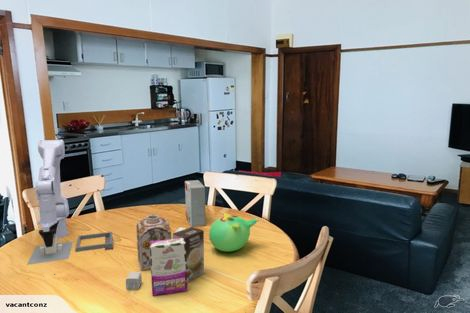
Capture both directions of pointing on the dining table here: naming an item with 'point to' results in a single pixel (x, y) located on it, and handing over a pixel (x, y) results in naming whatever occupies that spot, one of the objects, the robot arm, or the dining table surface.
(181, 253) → the candy bar box
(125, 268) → the dining table surface
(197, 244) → the coffee box
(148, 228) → the decorative jar
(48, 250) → the block
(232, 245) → the toy bird
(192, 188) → the hard drive box
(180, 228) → the seamed sphere
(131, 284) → the usb wall charger
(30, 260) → the panel
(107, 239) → the parts tray
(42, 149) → the robot arm
